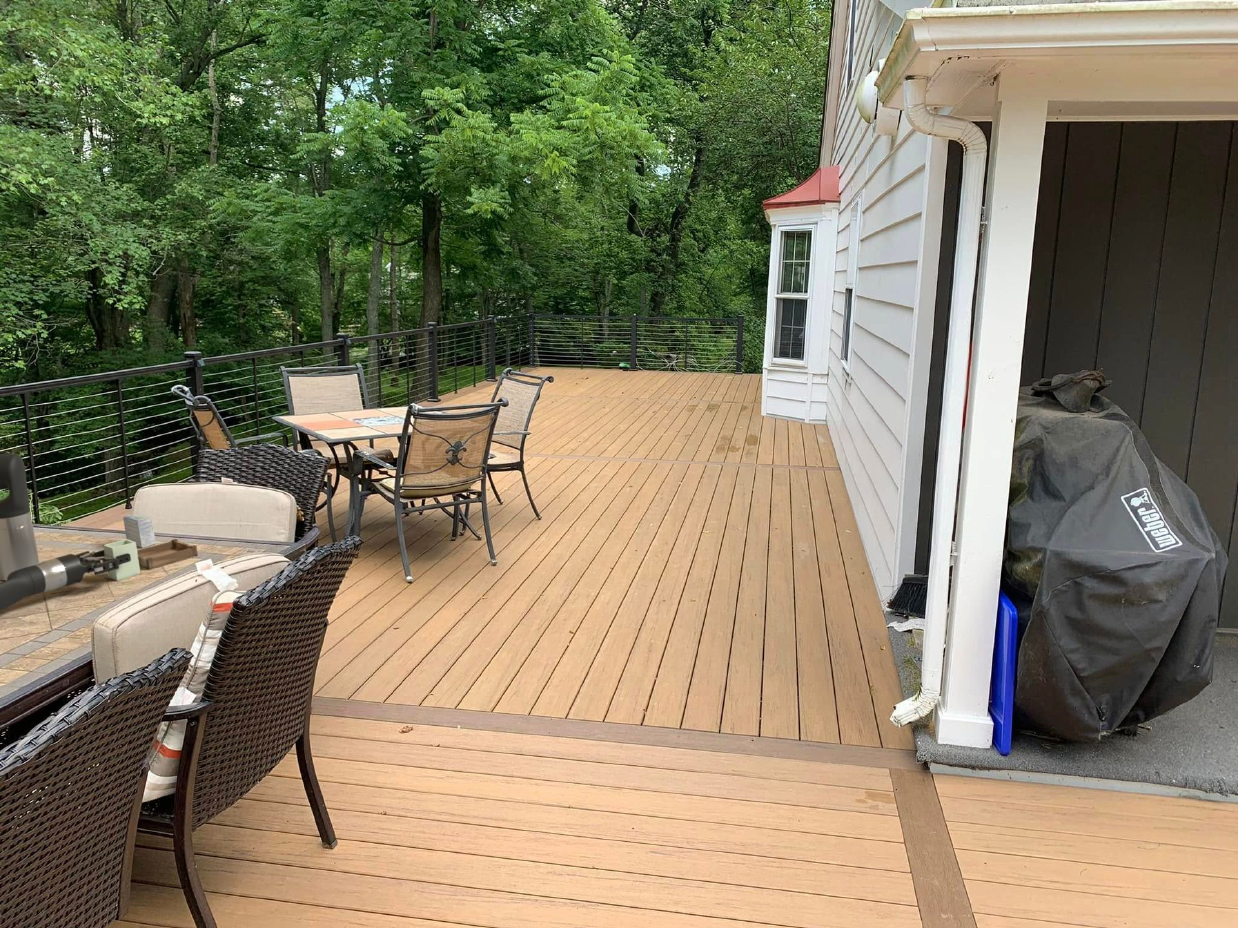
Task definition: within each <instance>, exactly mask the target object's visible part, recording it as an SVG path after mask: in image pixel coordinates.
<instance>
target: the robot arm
mask: <svg viewBox="0 0 1238 928" xmlns="http://www.w3.org/2000/svg"><path fill="white" fill-rule="evenodd" d="M0 490H8V495H7V497H4V498H3V499H0V579H1V581H3V580H5V581H3V582H0V612H1V611H3V610H5V609H8V608H9V607H12V606H13V605H15V604H16V603H18V602H20V601H22V600H23V599H25V598H29V597H32V596H35V595H38V594H41V593H46V592H52V591H55V590H58V589H60V588H61V589H63V588H65V587H69V586H71V585H75V584H78V583H80V582H81V581H82V580H83V579H84V576H85V574H94V575H95V576H98V575H101V574H104V573H108V571H112V570H115V569H119V565H120V564H123V563H127V562H130V561H131V557H130V554H128V553H126V554H123V555H119V556H116V557H111V558H106V557H105V554H104V553H105V552H104V549H102V550H99V551H91V552H90V551H89V550H86V551H83V552H81V553H76V554H73V553H67V554H65V555H61V556H59V557H58V556H57V557H54V558H51V559H47V560H44V561H40V560H39V559H40V558H39V554H38V552H39V551H38V548H37V543H36V542H37V541H36V536H35V531H34V526H33V519H32V515H31V514H32V513H31V509H30V499H29V498H30V497H29V491H28V482H27V473H26V467H25V463H24V460H23V457H22V456H21V455H19V454H18V453H2V454H1V453H0ZM110 563H112V565H109V564H110Z"/></svg>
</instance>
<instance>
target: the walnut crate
mask: <svg viewBox="0 0 1238 928" xmlns="http://www.w3.org/2000/svg"><path fill="white" fill-rule="evenodd" d="M197 547H198V546H197V545H194V544H193V545H191V544H189V543H186V542H182V541H179V540H178V539H177V538H174V539H171V540H170V541H167V542H163V543H160V544H157V545H156V544H155V545H151V546H148V547H144V548H141V549H137V554H138V560H139V567H142V568H144V569H147V570H153V569H157V568H160V567H164V566H167V565H171V564H175V563H177V562H181V561H184V560H189V559H192V558H194V557H193V556H196V557H198V556H199V555H198V554H199V553H198V548H197ZM191 557H192V558H191ZM188 558H189V559H188Z"/></svg>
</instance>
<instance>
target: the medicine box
mask: <svg viewBox="0 0 1238 928" xmlns="http://www.w3.org/2000/svg"><path fill="white" fill-rule="evenodd" d="M123 525H124V530H125V539H128V540H131V541H134V542H136V547H137V548H141V549H144V548H148V547H152V546H156V544H157V542H156V537H155V531H154V522H153V518H152V516H150V515H147V514H146V515H145V514H141V513H133V514H128V515H126V516H123Z"/></svg>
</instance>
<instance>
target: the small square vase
mask: <svg viewBox="0 0 1238 928" xmlns="http://www.w3.org/2000/svg"><path fill="white" fill-rule="evenodd" d="M103 550H104V552H105V553H104V554H105V557H106V558H111V557H116V556H119V555H123V554H126V553H128V554H130V557H131V561H130V562H127V563H123V564H120V565H119V569H115V570H112V571H108V572H107V575H108V578H109V579H112V580H114V581H117V582H119V581H123V580H125V579H126V580H127V579H129V578H133V577H136V576H140V575H141V569H140V567H141V566H139V560H138V554H137V550H138V547H137V546H136V542H134V541H131V540H128V539H126V538H125V539H121V540H118V541H113V542H110V543H106V544H103ZM109 565H112V563H110V564H109Z"/></svg>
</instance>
